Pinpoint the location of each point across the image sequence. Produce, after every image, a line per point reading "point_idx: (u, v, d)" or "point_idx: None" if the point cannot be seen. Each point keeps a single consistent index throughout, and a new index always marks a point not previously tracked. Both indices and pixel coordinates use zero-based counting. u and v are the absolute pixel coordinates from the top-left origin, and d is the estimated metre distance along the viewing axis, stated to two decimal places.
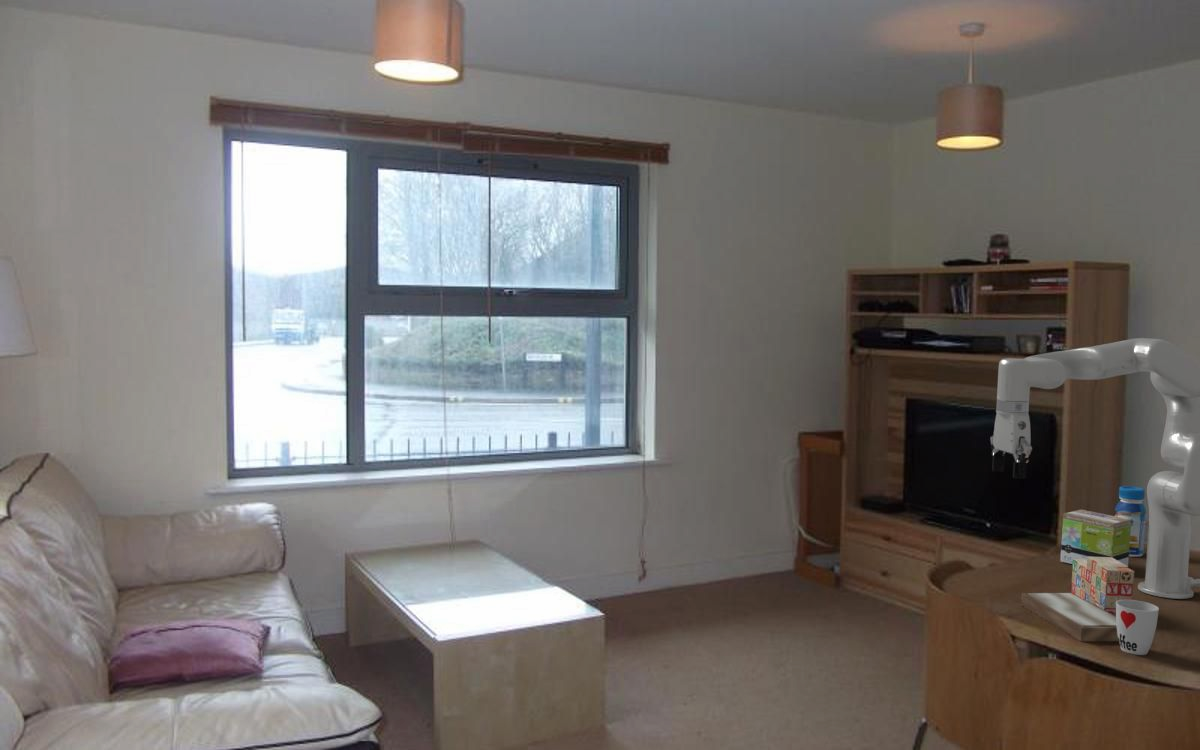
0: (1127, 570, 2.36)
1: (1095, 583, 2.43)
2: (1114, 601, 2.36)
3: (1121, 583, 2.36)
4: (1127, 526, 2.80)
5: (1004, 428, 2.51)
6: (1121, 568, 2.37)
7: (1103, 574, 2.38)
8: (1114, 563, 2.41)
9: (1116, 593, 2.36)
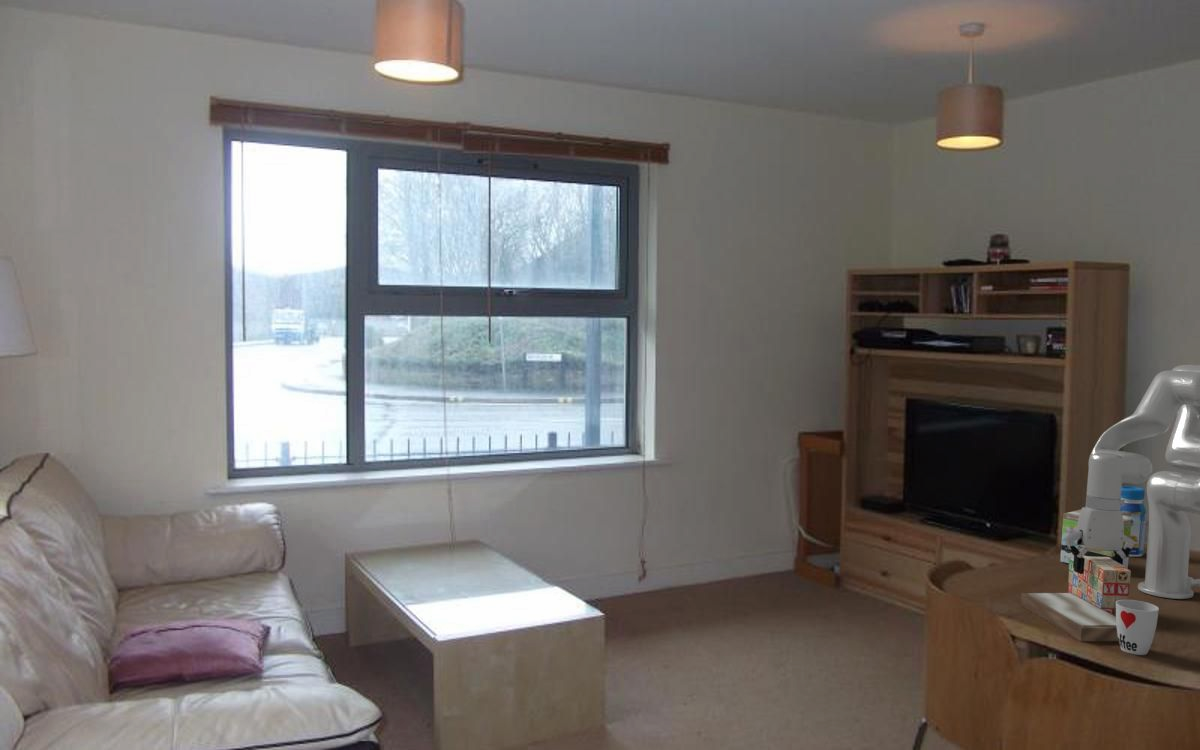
0: (1124, 570, 2.36)
1: (1091, 583, 2.43)
2: (1111, 601, 2.36)
3: (1117, 583, 2.36)
4: (1127, 526, 2.80)
5: (1111, 527, 2.42)
6: (1118, 568, 2.38)
7: (1100, 574, 2.38)
8: (1111, 563, 2.41)
9: (1113, 593, 2.36)
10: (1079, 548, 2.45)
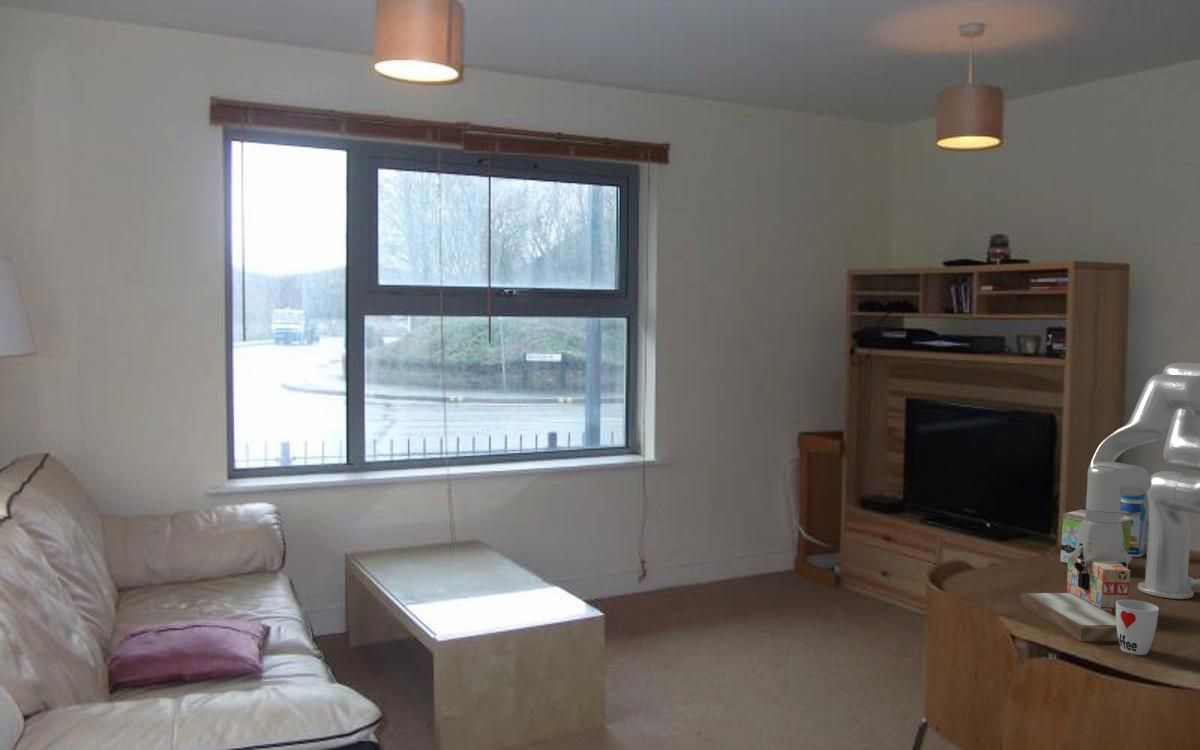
0: (1123, 569, 2.36)
1: (1091, 582, 2.43)
2: (1111, 600, 2.36)
3: (1117, 582, 2.36)
4: (1127, 526, 2.80)
5: (1111, 540, 2.42)
6: (1117, 567, 2.38)
7: (1099, 573, 2.38)
8: (1110, 562, 2.41)
9: (1112, 592, 2.36)
10: (1082, 563, 2.46)
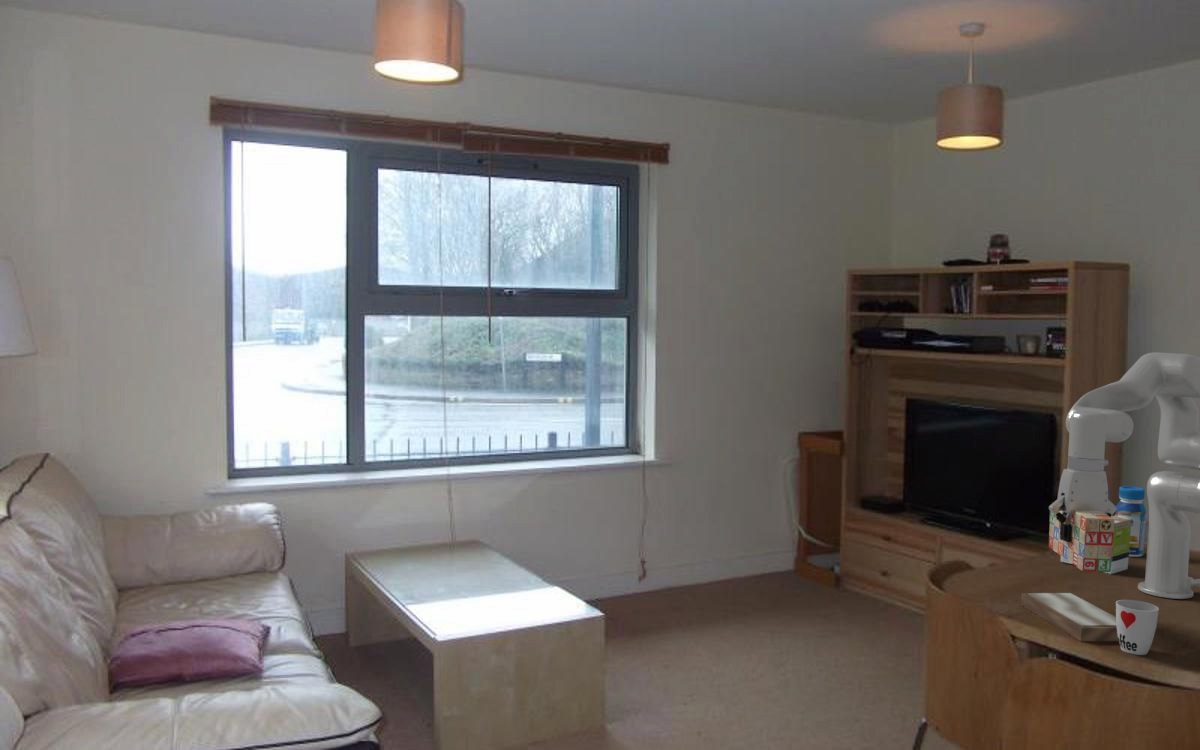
0: (1107, 518, 2.23)
1: (1073, 533, 2.30)
2: (1094, 551, 2.23)
3: (1100, 532, 2.23)
4: (1127, 526, 2.80)
5: (1094, 488, 2.29)
6: (1101, 516, 2.25)
7: (1082, 523, 2.25)
8: (1093, 512, 2.28)
9: (1096, 542, 2.23)
10: (1064, 514, 2.33)
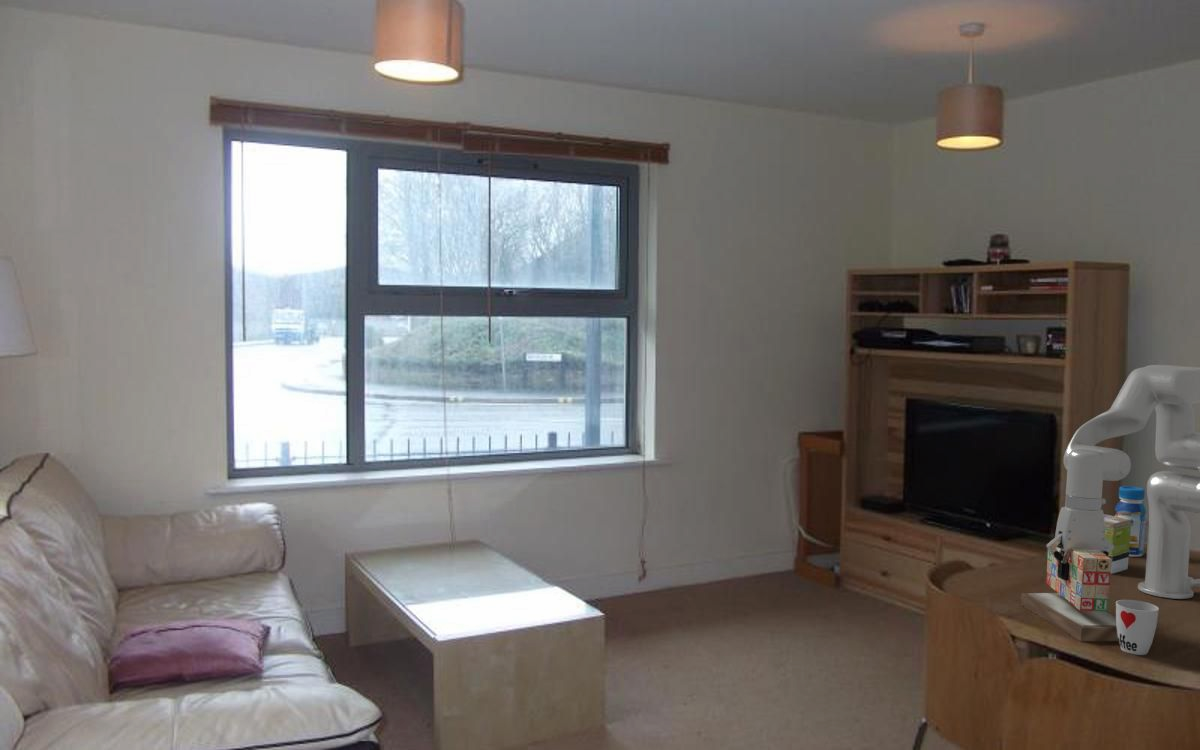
0: (1104, 558, 2.24)
1: (1071, 572, 2.30)
2: (1091, 590, 2.24)
3: (1098, 572, 2.23)
4: (1127, 526, 2.80)
5: (1092, 527, 2.30)
6: (1098, 556, 2.25)
7: (1079, 562, 2.26)
8: (1091, 551, 2.29)
9: (1093, 582, 2.24)
10: (1062, 552, 2.33)
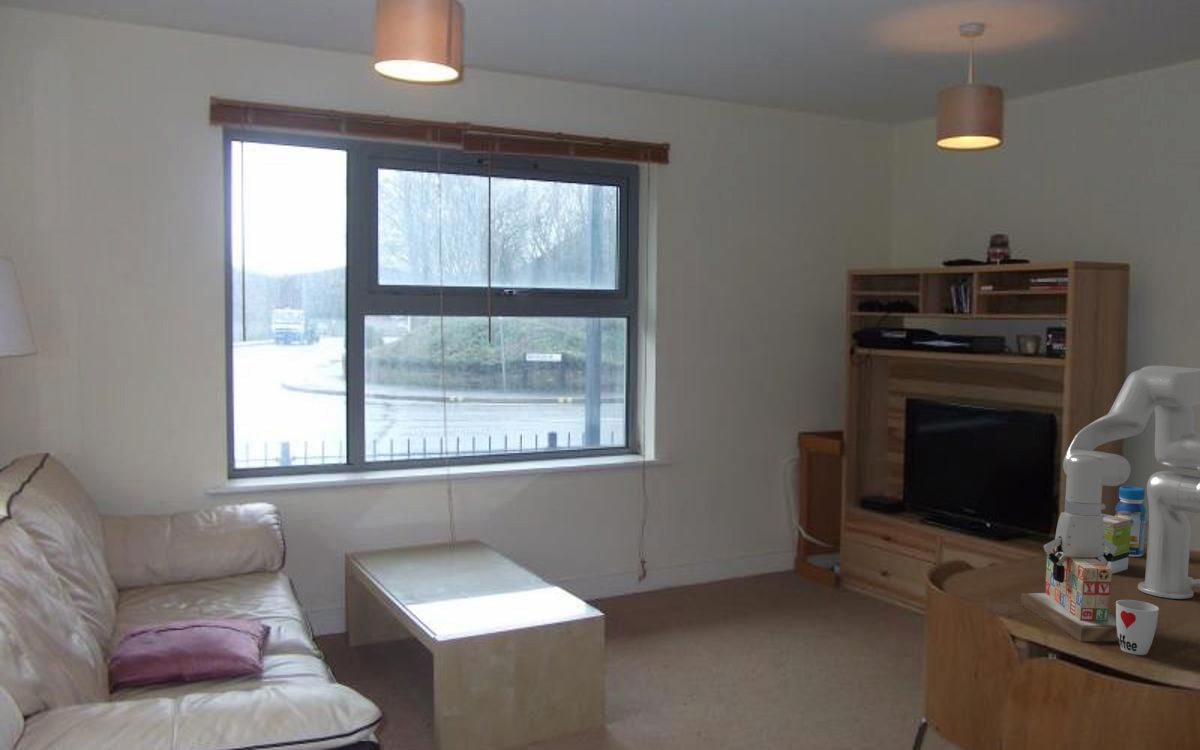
0: (1104, 568, 2.24)
1: (1070, 582, 2.31)
2: (1091, 600, 2.24)
3: (1098, 582, 2.24)
4: (1127, 526, 2.80)
5: (1091, 533, 2.30)
6: (1098, 566, 2.26)
7: (1080, 572, 2.26)
8: (1091, 560, 2.29)
9: (1093, 592, 2.24)
10: (1059, 555, 2.33)
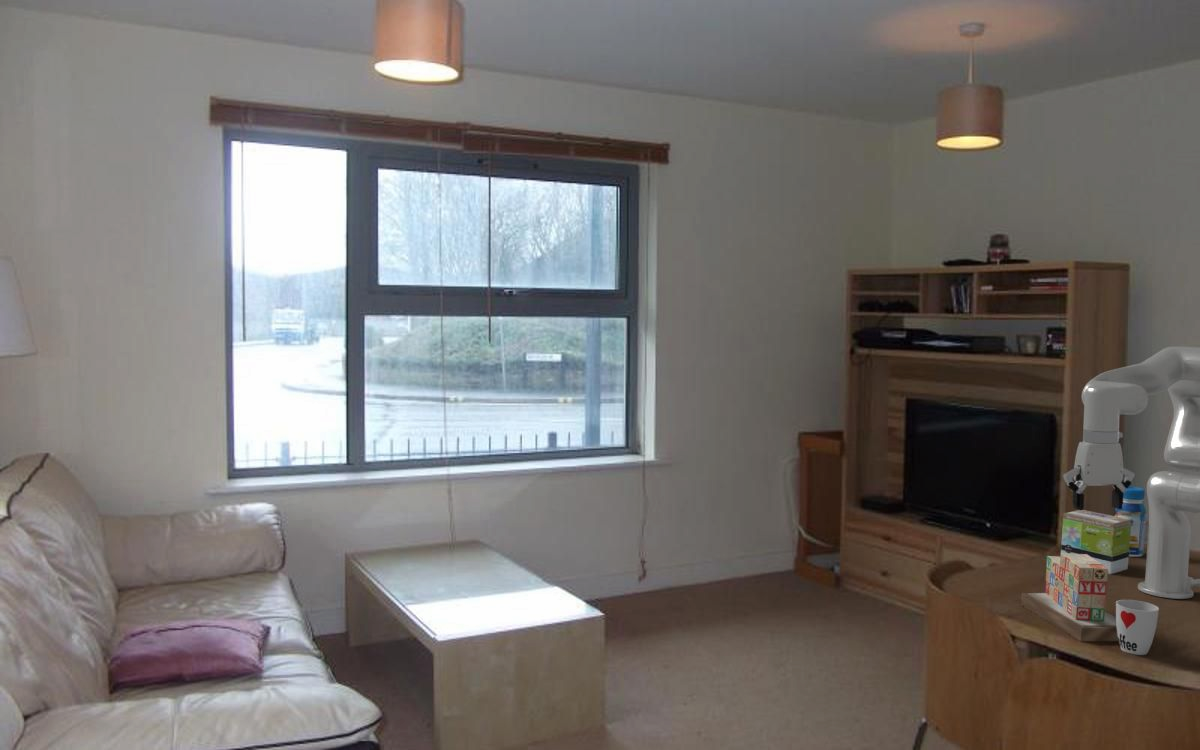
0: (1101, 567, 2.24)
1: (1068, 581, 2.31)
2: (1087, 600, 2.24)
3: (1094, 581, 2.24)
4: (1127, 526, 2.80)
5: (1110, 460, 2.35)
6: (1095, 565, 2.26)
7: (1076, 572, 2.26)
8: (1088, 560, 2.29)
9: (1089, 592, 2.24)
10: (1078, 484, 2.39)
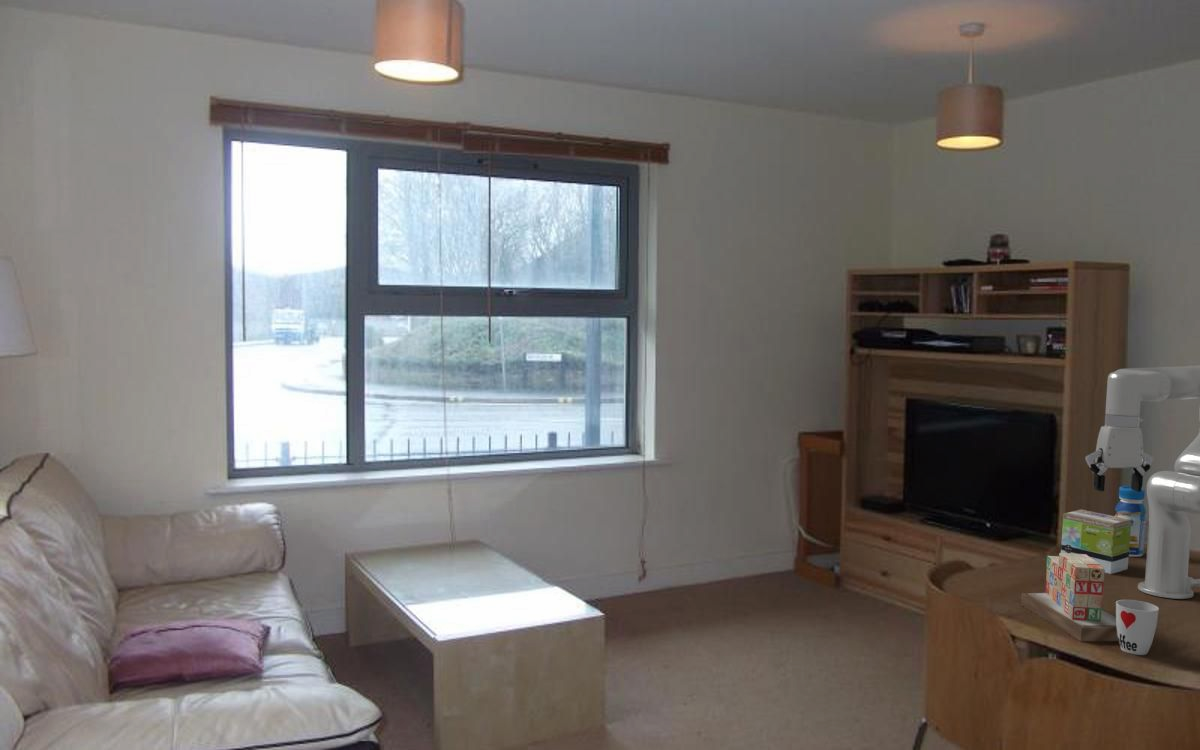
0: (1097, 567, 2.25)
1: (1065, 581, 2.31)
2: (1084, 599, 2.25)
3: (1090, 581, 2.24)
4: (1127, 526, 2.80)
5: (1131, 444, 2.45)
6: (1092, 565, 2.26)
7: (1072, 571, 2.27)
8: (1085, 560, 2.29)
9: (1086, 591, 2.25)
10: (1099, 466, 2.48)
